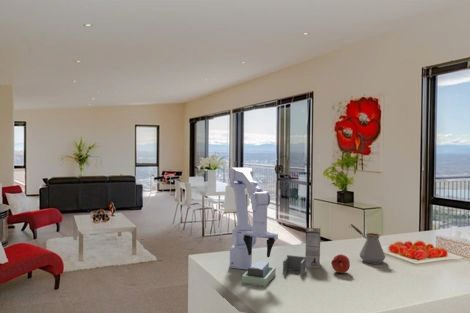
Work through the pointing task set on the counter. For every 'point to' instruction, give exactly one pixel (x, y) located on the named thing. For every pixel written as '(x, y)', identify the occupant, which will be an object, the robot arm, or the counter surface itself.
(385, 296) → the counter surface
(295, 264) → the printer bay
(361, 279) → the counter surface
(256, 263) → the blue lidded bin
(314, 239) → the coffee box
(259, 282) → the tray
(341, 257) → the fruit
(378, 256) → the coffee pot
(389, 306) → the counter surface
